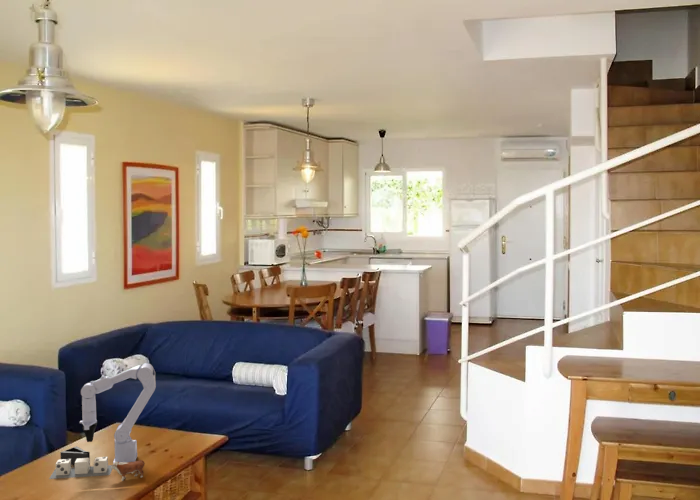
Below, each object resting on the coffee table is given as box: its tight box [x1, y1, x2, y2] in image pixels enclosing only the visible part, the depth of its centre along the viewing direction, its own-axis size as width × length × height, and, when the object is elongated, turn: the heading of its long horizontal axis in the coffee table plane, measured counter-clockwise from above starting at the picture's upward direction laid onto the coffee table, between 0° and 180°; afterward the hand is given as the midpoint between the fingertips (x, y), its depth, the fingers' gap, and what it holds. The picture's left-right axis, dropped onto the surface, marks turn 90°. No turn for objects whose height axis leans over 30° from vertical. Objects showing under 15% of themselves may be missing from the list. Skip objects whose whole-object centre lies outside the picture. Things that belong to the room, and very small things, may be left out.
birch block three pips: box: [55, 458, 72, 475], centre depth 303 cm, size 5×5×5 cm
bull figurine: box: [111, 459, 146, 482], centre depth 297 cm, size 4×13×8 cm, turn 114°
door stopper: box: [60, 445, 91, 466], centre depth 315 cm, size 9×6×12 cm
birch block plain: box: [74, 458, 91, 474], centre depth 305 cm, size 5×5×5 cm
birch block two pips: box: [93, 456, 109, 473], centre depth 306 cm, size 5×5×5 cm
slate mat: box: [48, 464, 113, 480], centre depth 305 cm, size 24×12×1 cm, turn 100°
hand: (89, 441), depth 317 cm, fingers closed
